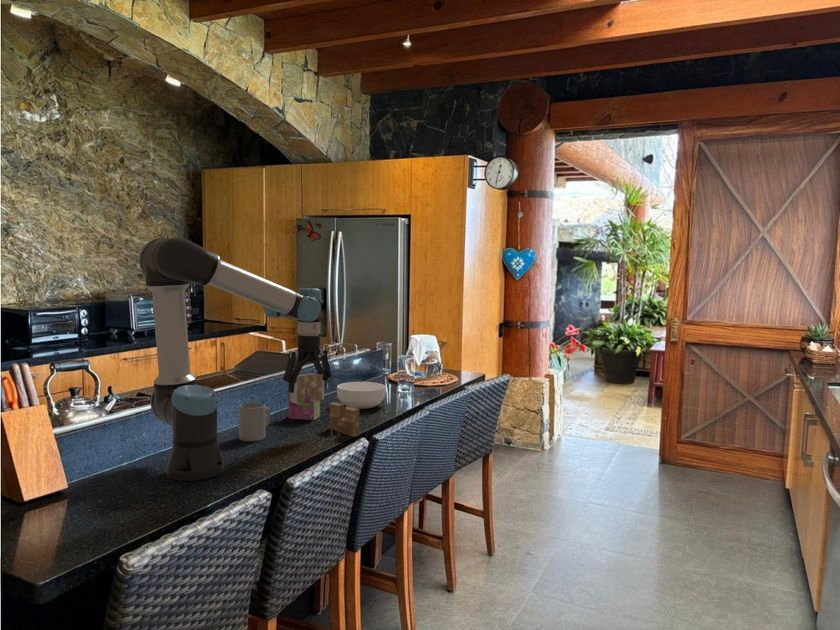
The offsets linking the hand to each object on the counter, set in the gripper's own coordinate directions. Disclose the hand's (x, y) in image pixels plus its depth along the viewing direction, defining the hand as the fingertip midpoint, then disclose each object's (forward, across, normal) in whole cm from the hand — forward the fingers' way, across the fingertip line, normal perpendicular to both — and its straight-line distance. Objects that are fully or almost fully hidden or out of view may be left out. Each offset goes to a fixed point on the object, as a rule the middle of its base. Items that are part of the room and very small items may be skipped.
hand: (307, 400), depth 215 cm
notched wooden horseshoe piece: (0, 0, 0) cm, 0 cm away
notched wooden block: (+12, +13, -3) cm, 18 cm away
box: (+12, +13, +22) cm, 28 cm away
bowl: (+12, +41, +24) cm, 49 cm away
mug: (+13, -13, +10) cm, 21 cm away
